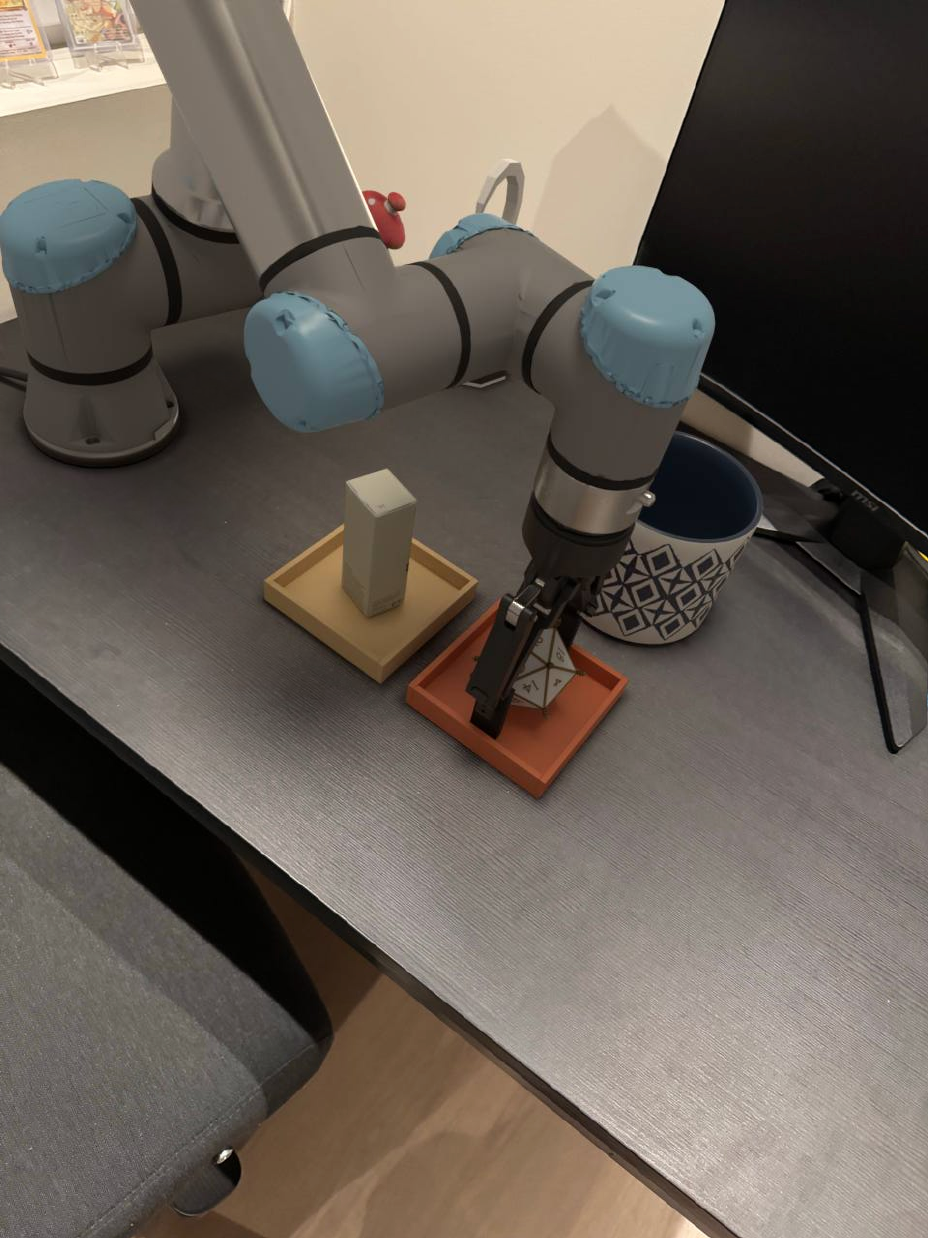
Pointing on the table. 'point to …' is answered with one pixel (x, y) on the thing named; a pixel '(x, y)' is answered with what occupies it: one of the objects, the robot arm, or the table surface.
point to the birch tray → (337, 621)
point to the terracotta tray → (516, 710)
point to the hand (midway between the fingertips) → (518, 691)
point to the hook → (510, 214)
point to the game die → (544, 672)
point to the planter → (680, 545)
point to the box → (377, 541)
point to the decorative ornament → (387, 217)
